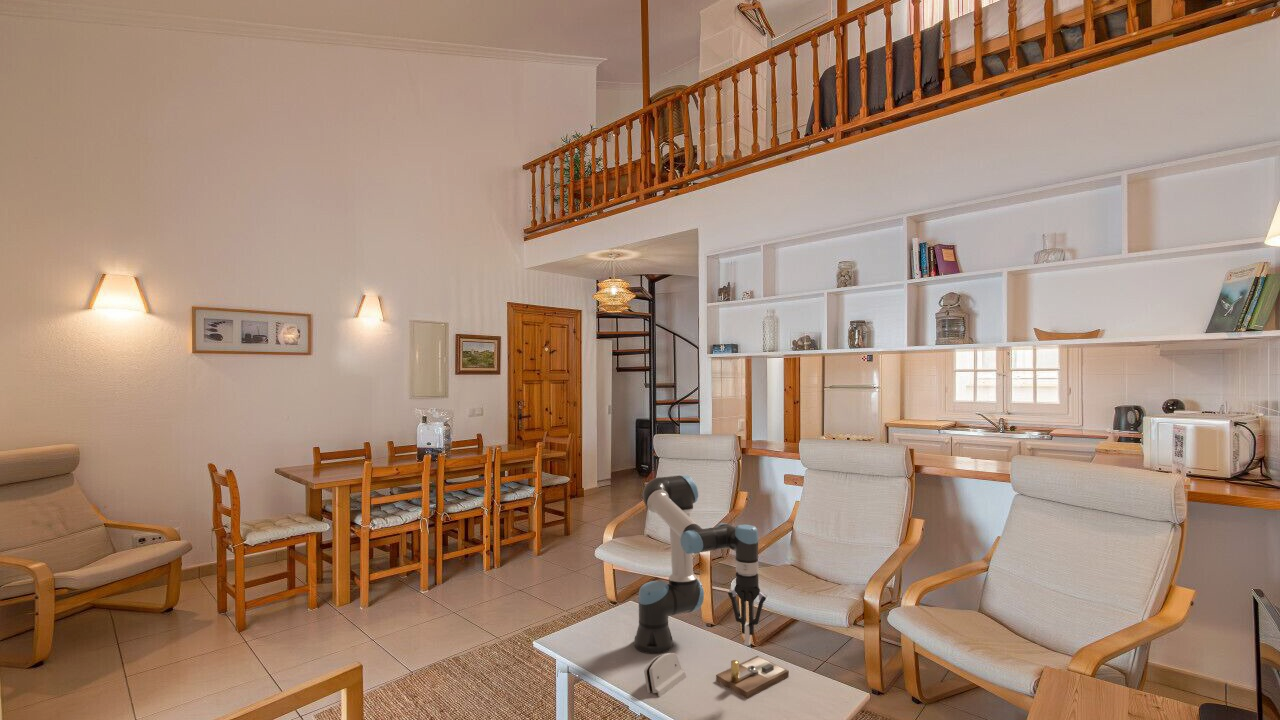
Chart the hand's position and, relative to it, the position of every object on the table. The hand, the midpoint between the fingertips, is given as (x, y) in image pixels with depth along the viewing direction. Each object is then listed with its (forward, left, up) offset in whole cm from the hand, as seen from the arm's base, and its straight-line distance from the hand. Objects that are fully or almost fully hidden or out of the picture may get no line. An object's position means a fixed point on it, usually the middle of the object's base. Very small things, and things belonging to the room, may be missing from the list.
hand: (747, 643), depth 194 cm
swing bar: (-5, +3, -14) cm, 15 cm away
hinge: (-22, -18, -17) cm, 33 cm away
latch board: (-5, +8, -16) cm, 19 cm away
